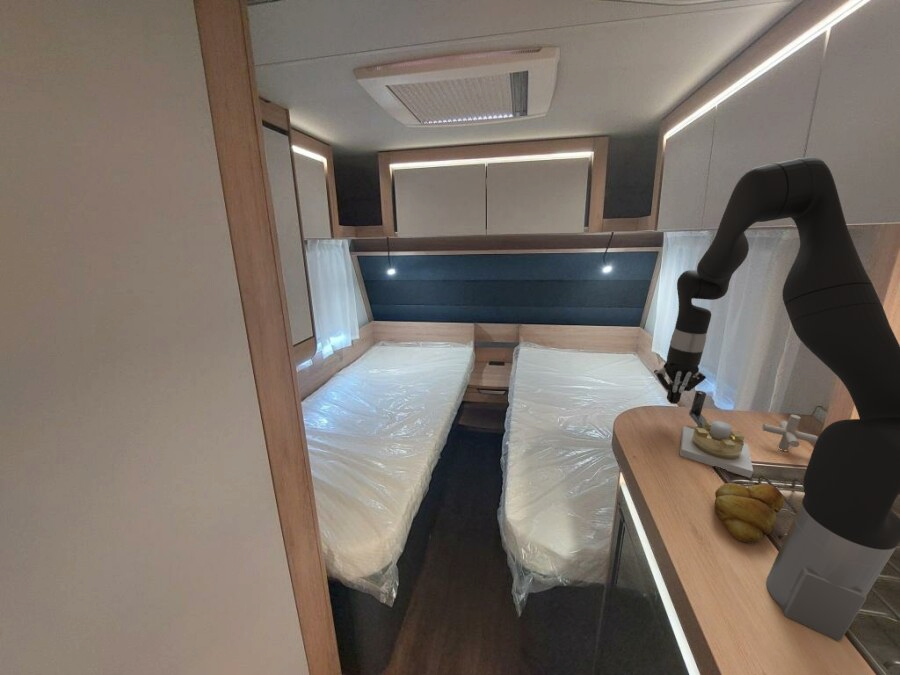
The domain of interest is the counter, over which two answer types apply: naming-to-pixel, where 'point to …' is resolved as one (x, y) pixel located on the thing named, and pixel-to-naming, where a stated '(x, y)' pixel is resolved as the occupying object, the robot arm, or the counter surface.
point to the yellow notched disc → (706, 441)
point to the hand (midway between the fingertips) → (672, 402)
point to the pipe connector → (789, 433)
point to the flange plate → (690, 451)
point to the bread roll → (748, 509)
